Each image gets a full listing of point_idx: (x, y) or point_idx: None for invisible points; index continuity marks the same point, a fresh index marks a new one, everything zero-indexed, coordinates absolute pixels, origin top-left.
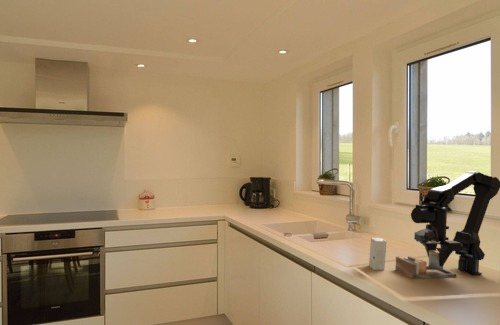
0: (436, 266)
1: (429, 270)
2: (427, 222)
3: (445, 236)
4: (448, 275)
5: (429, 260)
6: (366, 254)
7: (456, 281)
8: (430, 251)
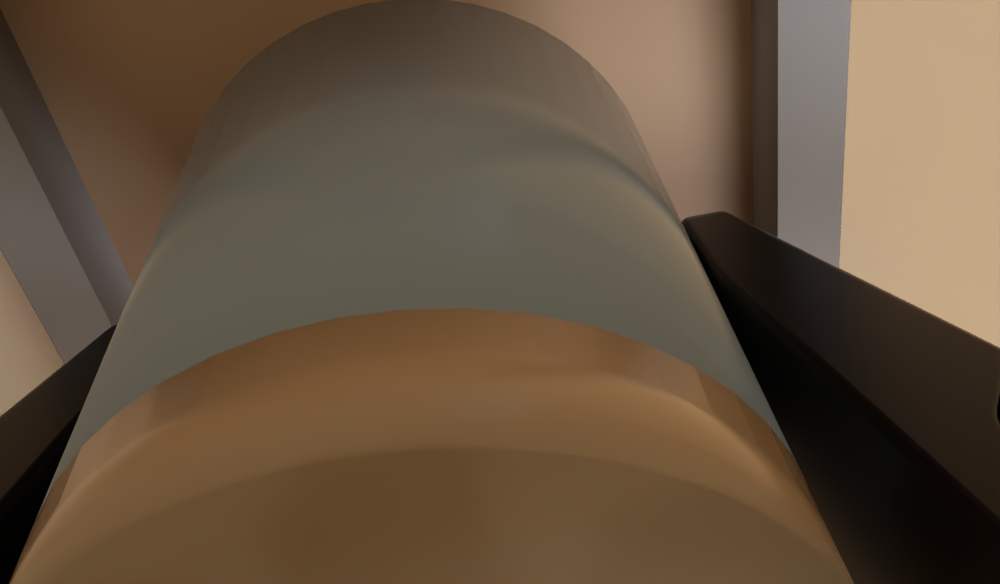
0: (172, 195)
1: (639, 75)
2: None
3: None
4: (64, 327)
5: (430, 110)
6: None
7: (42, 381)
8: (387, 472)
